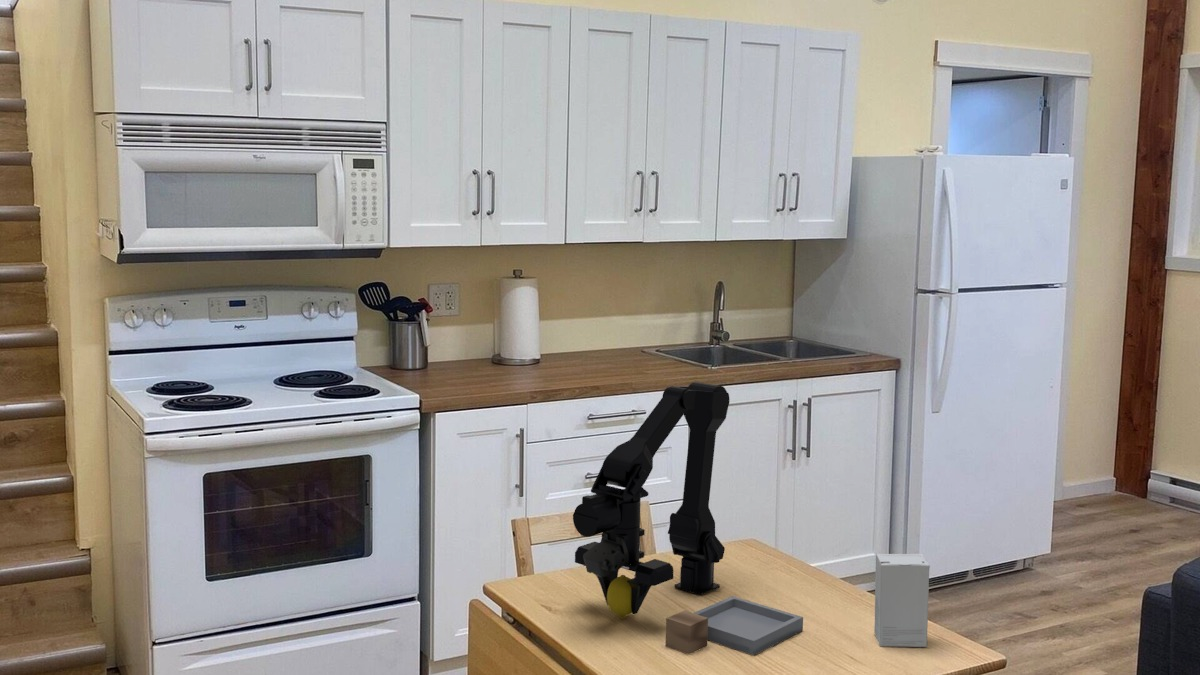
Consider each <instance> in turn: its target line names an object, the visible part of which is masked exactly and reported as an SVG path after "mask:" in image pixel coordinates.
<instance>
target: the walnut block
mask: <svg viewBox="0 0 1200 675" xmlns="http://www.w3.org/2000/svg"><path fill="white" fill-rule="evenodd" d="M707 636H708V618H707V617H703V616H700V615H697V614H694V612H692V611H691V612H690V611H689V610H688V611H687V610H682V611H679V612H678V613H675V614H673V615H669V616H667V617H666V618H665V647H666V648H670V649H672V650H675V651H678V652H682V653H684V654H687V655H691V654H693V653H695V652H697V651H700V650H702V649H704V648H706V647H707V646H708V640H707ZM699 649H700V650H699Z"/></svg>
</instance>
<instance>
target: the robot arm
mask: <svg viewBox="0 0 1200 675" xmlns="http://www.w3.org/2000/svg"><path fill="white" fill-rule="evenodd" d="M729 406H730V394H729V392H728V391H727V390H726V388H725V387H724V386H723V385H720V384H719V385H717V384H711V383H704V382H699V381H693V382H691V383H690V384H689V385H688V386H678V385H677V386H674V385H671V386H668V387H666V388H665V389H664V391H663V393H662V397H661V398H660V400H659V401H658V402H657V404H656V405H655V407H654V408H653V409H652V411H650V413H649V415H648V416H647V417H646V419H645V420H644V421H643V423H642V424H641V425H640V427H639V428H638V430H637V431H636V432H635V433H634V435H633V436H632V437H631V438H629V440H627V441H625V442H623V443H621V444H619V445H617V446H616V447H615V448H614V449H613V450H611V452H609V454H608V455H607V456H606V457H605V459H604V461H603V463H602V465H601V467H600V469H599V472H598V474H597V475H596V479H595V480H594V483H593V484H592V487H591V489H590V492H591V493H592V495H589V494H587V495H584V496H581V499H582V500H581V503H580V504H578V505H577V506H576V508H575V509H574V512H573V514H572V522H573V526H574V528H575V530H576V531H577V532H578V533H579V534H580V535H581V536H583V537H586V538H589V537H592V536H595V535H596V536H597V535H600V534H601V539H600V541H599V542H597V541H592V542H589V543H586V544H583V545H579V546H578V547H577V548H576V550H575V552H574V563H575V564H579V565H582V566H585V569H586V572H587V573H588V574H593V575H595V576H596V578H597V580H598V582H599V584H600V588H601V589H602V590H601V591H602V593H603V597H604V599H605V602H606V605H607V606H608V603H607V592H608V588H609V585H610V583H611V582H612V581H613V580H614V579H615V578H617V577H619V576H618V575H619V570H620V569H625V570H626V571H627V570H628V571H632V572H634V577H633V578H630V580H627V582H628V583H629V585H630V586H631V608H632V613H631V614H632V615H636V614H638V613H639V611H640V608H641V606H642V604H643V603H644V600H645V599H646V596H647V595H648V592H649V591H650V589H651V587H655V586H658V585H661V584H663V583H666V582H668V581H670V580H674V567H673V565H672V564H671V563H670V562H667V561H663V560H660V559H656V558H654V559H651V560H648V561H645V562H642V561H640V560H641V559H643V558H645V551H643V550H640V545H641V543H640V541H641V538H640V537H642V536H645V532H646V531H645V529H644V528H641V499H643V498H645V497H649V492H648V491H647V489H645V488H644V487H643V486H644V485H645V483H646V482H647V480H648V479H649V476H650V475H651V473H652V471H653V467H654V466H653V465H654V464H653V463H654V456H656V453H657V452H658V451H659V450H660V448H661V446H662V444H663V443H664V442H665V441H666V440H667V438H668V437H669V435H670V434H671V433H672V431H673V430H674V428H675V427H676V426H677V424H678V423H679V421H680V420H681V419H682V417H684V419H685V421H686V424H687V425H688V428H689V435H688V444H687V456H686V465H685V473H684V482H683V484H684V485H683V493H682V503H681V505H680V507H679V508H678V509H677V511H676V512H672V513H671V514H670V516H669V527H668V530H667V534H668V536H669V542H670V545H671V548H672V549H671V550H672V553H673V555H676V556H680V557H681V560H680V561H681V563H680V564H681V565H680V577H679V581H680V582H678V583H676V584H674V588H675V589H678V590H682V591H683V592H684V591H685V592H688V593H692V594H694V595H697V596H703V595H705V594H707V593H710V592H712V591H715V590H717V589H719V588H720V587H721V584H719V583H716V582H714V580H715V579H714V578H715V576H714V575H715V574H714V572H715V563H717V564H718V563H720V561H721V560H723V558H724V554H725V546H724V545H723V544H722V542H721V541H720V539H718V537H717V536H716V522H715V519H714V517H713V515H712V514H713V513H712V512H711V509H710V507H709V506H710V505H709V504H710V494H711V485H712V476H713V475H712V474H713V465H714V455H715V447H716V436H717V432H718V430H719V429H720V427H721V426H722V424H723V423H724V422H725V421H726V418H727V414H728V410H729ZM607 484H609V485H607ZM611 485H612V486H611ZM615 486H616V487H615ZM622 488H623V489H622Z"/></svg>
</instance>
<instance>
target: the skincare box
mask: <svg viewBox="0 0 1200 675" xmlns="http://www.w3.org/2000/svg"><path fill="white" fill-rule="evenodd" d="M930 568H931V566H930V563H929V562H928V561H927V559H926V558H925V556H924V555H923V553H875V570H874V571H875V576H874V577H875V584H874V586H875V588H874V590H875V591H874V627H873V628H874V635H875V637H876V638H875V639H876V640H877V642H878V645H879V647H905V648H906V647H910V648H911V647H912V648H913V647H914V648H925V647H928V626H929V625H928V620H929V591H930V590H929V587H930Z"/></svg>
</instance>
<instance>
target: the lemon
mask: <svg viewBox="0 0 1200 675" xmlns="http://www.w3.org/2000/svg"><path fill="white" fill-rule="evenodd" d="M630 579H631V578H630V577H628V576H626V575H625V574H621V575H620V576H618V577H617V578H615V579H614V580H613V581H612V582H611V583H610V585H609V588H608V592H607V603H608V605H607V606H608V609H609V610H610V611H611V612H612V613H613V614H614V615H616V616H618V617H619V618H620V619H625V618H626V617H627V616H629V615H631V614H632V608H631V586H630V585H629V583H628V582H627V580H630ZM607 603H606V604H607Z"/></svg>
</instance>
